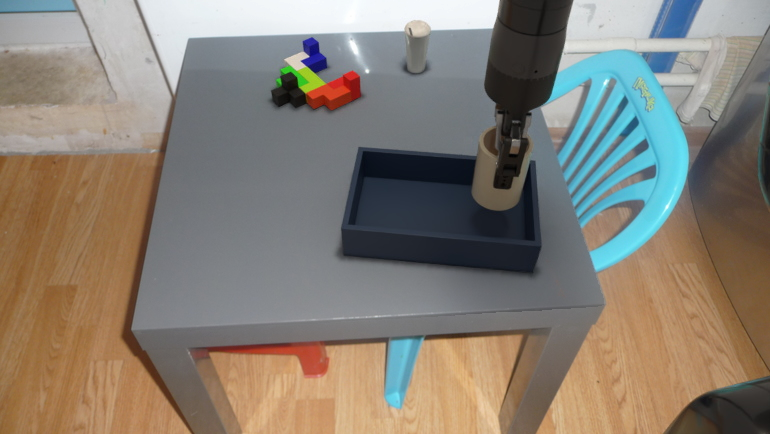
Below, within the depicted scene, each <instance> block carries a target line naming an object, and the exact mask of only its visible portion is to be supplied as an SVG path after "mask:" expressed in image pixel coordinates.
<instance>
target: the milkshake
mask: <svg viewBox="0 0 770 434" xmlns="http://www.w3.org/2000/svg"><path fill="white" fill-rule="evenodd" d="M403 31H404V40H405V55H406V56H405V57H406V68H407V71H408V72H410V73H411V74H420V73H423V72H424V71H425V69H426V63H427V54H428V49H429V44H430V43H429V42H430V37H431V31H432V28H431V26H430V24H429V23H427V21H424V20H420V19H419V20H416V19H413V20H411V21H409V22H407V23H406V24H405V26H404V29H403Z"/></svg>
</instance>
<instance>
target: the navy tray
mask: <svg viewBox="0 0 770 434" xmlns="http://www.w3.org/2000/svg"><path fill="white" fill-rule="evenodd" d="M355 156H356V157H355V162H354V166H353V170H352V176H351V179H350V185H349V189H348V194H347V198H346V203H345V207H344V208H345V209H344V212H343V218H342V221H341V227H340V232H341V233H340V234H341V241H342V253H343V256H347V257H348V256H349V257H360V258H367V259H380V260H390V261H391V260H392V261H402V262H410V263H411V262H412V263H422V264H423V263H424V264H433V265H445V266H456V267H466V268H476V269H477V268H478V269H486V270H487V269H489V270H499V271H509V272H518V273H520V272H521V273H528V274H529V273H530V274H531V273H532V274H534V270H535V267H536V265H537V262H538V258H539V256H540V254H541V253H540V252H541V250H542V245H543V244H542V234H541V221H540V218H541V217H540V204H539V203H540V202H539V192H538V191H539V190H538V176H537V162H536V160H532V159H530V163H529V167H528V171H527V175H526V179H525V183H524V186H523V190H522V194H521V198H520V200H519V202H518V203H517V204H516V205H515V206H514V207H512V208H510V209H508V210H502V211H495V210H490V209H487V208H485V207H483V206H481V205H480V204H478V203H477V202H476V201H475V199H474V198H473V196H472V192H471V188H472V182H473V176H474V169H475V163H476V157H477V155H469V154H456V153H445V152H444V153H443V152H432V151H431V152H430V151H419V150H417V151H416V150H406V149H394V148H393V149H392V148H382V147H381V148H378V147H366V146H358V147H357V152H356V155H355Z"/></svg>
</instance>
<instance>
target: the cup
mask: <svg viewBox="0 0 770 434" xmlns="http://www.w3.org/2000/svg"><path fill="white" fill-rule="evenodd" d="M496 128H497V125H496V124H495V125H493V126H490V127H488V128H486V129H485V130H483V131H482V132H481V134H480V135H479V138H478V139H479V140H478V146H477V150H476V151H477V152H476V156H477V157H476V163H475V169H474V176H473V182H472V188H471V192H472V196H473V198H474V199H475V201H476V202H477V203H478V204H480V205H481V206H483V207H485V208H487V209H490V210H495V211H502V210H508V209H510V208H512V207H514V206H515V205H516V204H517V203H518V202H519V200H520V198H521V194H522V190H523V186H524V183H525V179H526V175H527V171H528V167H529V163H530V160H532V155H533V151H534V147H535V146H534V141H533V139H532V137H531V135H530V134H529V133H527V138H528V146H527V148H526V152H525V156H524V159H523V163H522V167H521V173H520V174H519V177H514V178H513V182H512V186H511V188H510V189H508V190H505V189H495V188H494V187H493V180H494V175H495V170H496V165H495V163H496V161H497V155H498V150H497V149H496V147H495V136H496ZM520 137H521V134H520ZM503 139H504V136H501V141H503Z"/></svg>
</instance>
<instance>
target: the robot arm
mask: <svg viewBox="0 0 770 434" xmlns="http://www.w3.org/2000/svg"><path fill="white" fill-rule="evenodd" d="M574 1H575V0H499V2H498V7H497V14H496V18H495V21H494V24H493V27H492V31H491V37H490V43H489V50H488V54H487V55H488V56H487V62H486V69H485V75H484V82H483V89H484V91H485V93H486V95H487V97H488V98H489V99H490V100H491V101H492V102H493V103H494V104H495V105H494V116H493V117H494V121H495V122H494V123H495V126H496V125H497V128H496V136H495V147H496V149H497V150H498V155H497V161H496V163H495V165H496V170H495V175H494V180H493V187H494V188H495V189H505V190H508V189H510V188H511V186H512V182H513V178H514V177H519V174H520V173H521V167H522V163H523V159H524V156H525V152H526V148H527V146H528V138H527V134H528V131H529V128H530V127H531V125H532V117H533V112H532V110H535V109H538V108H540V107H542V106H544V105H545V104H546V103H547V102H548V101H549V100H550V99H551V97H552V95H553V90H554V87H555V84H556V79H557V75H558V71H559V68H560V64H561V60H562V57H563V53H564V49H565V45H566V42H567V41H566V40H567V30H568V24H569V20H570V15H571V12H572V8H573V4H574ZM768 79H769V81H768V83H767V91H766V97H765V103H764V110H763V116H762V122H761V130H760V135H759V136H760V137H759V142H758V151H757V176H758V182H759V187H760V191H761V194H762V198H763V201H764V203H765V206H766V208H767V210H768V212H769V214H770V75H769V76H768ZM520 134H521V137H520ZM501 136H504V139H503V141H501ZM662 434H770V374H768V375H766V376H762V377H757V378H754V379H749V380H746V381H742V382H738V383H734V384H730V385H726V386H722V387H718V388H714V389H711V390H708V391H706V392H703V393H701V394H699V395H697V396H696V397H695V398H693V399H692V400H691V401H689V403H687V404H686V405H685V406H684V407H683V408H682V409H681V411H680V412H679V413H678V414H677V415H676V416H675V417H674V419H673V420H672V421H671V422H670V423H669V425H667V428H666V429H665V430H664V431H663V432H662Z"/></svg>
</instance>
